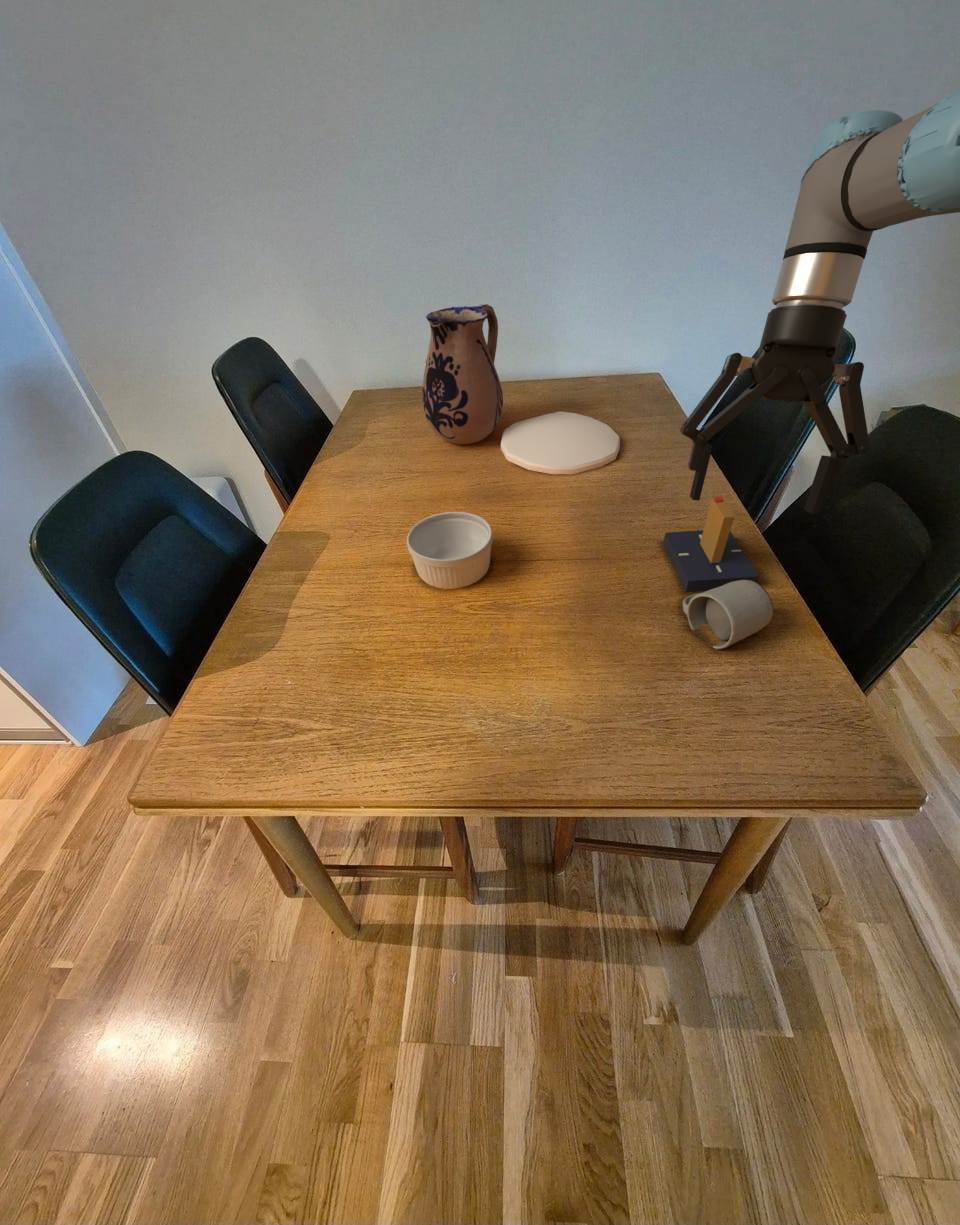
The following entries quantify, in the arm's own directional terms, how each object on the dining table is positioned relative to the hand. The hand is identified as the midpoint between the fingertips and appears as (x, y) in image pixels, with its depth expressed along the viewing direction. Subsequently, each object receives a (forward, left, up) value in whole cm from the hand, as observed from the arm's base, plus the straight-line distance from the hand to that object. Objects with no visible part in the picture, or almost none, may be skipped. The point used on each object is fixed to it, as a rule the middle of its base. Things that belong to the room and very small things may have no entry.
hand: (751, 505), depth 65 cm
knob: (+8, 0, -13) cm, 15 cm away
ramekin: (+12, +39, -16) cm, 44 cm away
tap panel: (+8, 0, -16) cm, 18 cm away
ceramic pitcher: (+62, +36, -16) cm, 73 cm away
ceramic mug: (-5, +2, -16) cm, 17 cm away
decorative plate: (+51, +17, -16) cm, 56 cm away
